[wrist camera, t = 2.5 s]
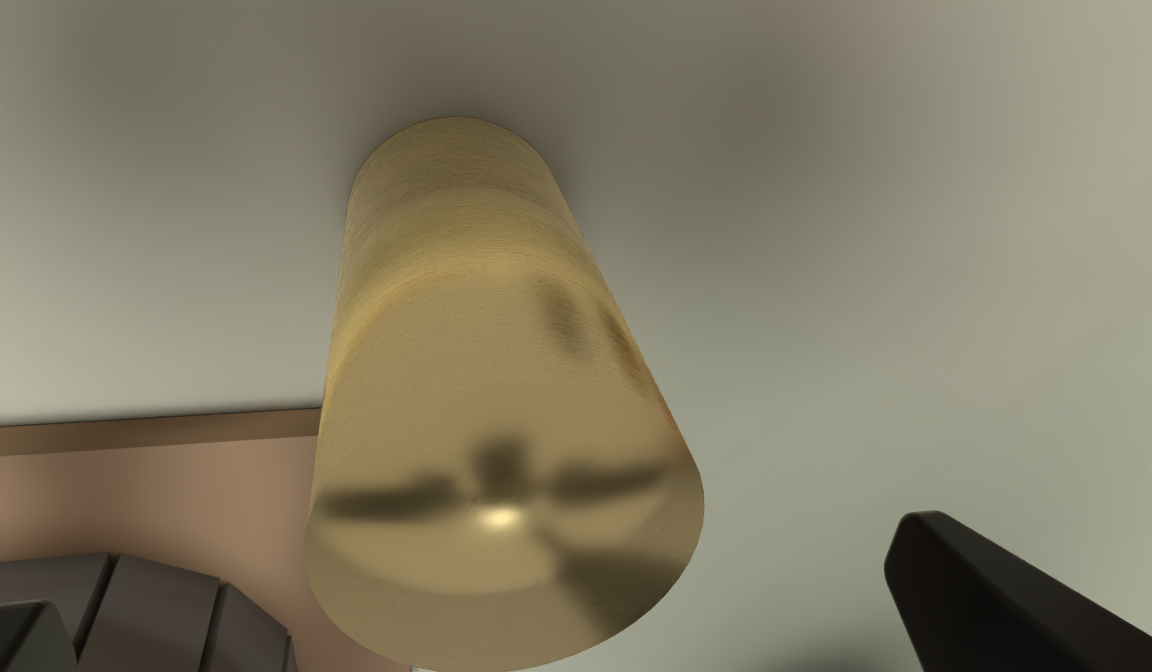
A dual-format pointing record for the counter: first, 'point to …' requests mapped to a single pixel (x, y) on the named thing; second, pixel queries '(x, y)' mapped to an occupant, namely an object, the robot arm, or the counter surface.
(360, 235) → the brass pin
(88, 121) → the counter surface
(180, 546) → the ring socket
